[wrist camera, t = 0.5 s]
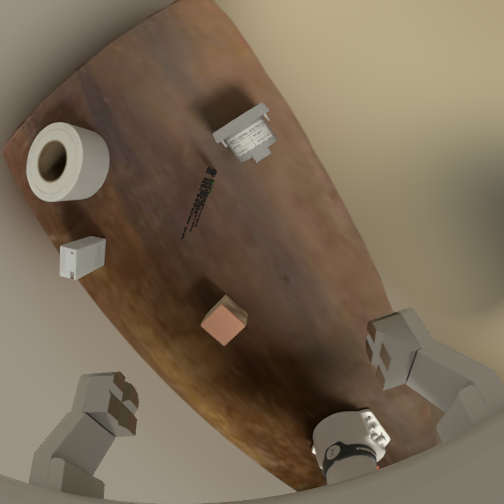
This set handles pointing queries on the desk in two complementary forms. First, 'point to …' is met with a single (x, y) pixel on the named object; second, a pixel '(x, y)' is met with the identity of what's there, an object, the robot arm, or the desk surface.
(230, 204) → the desk surface
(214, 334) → the birch cube
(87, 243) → the skincare box
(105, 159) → the roll of tape
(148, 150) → the desk surface
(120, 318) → the desk surface
